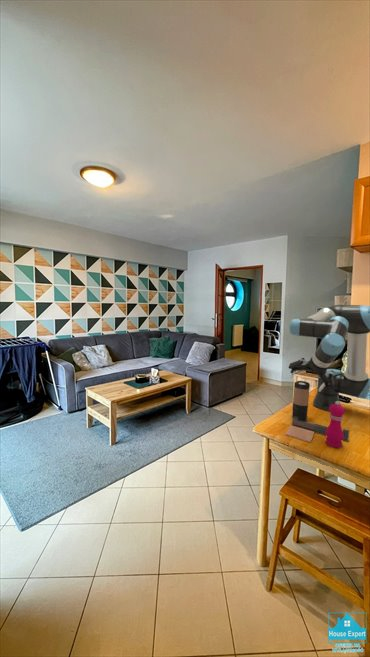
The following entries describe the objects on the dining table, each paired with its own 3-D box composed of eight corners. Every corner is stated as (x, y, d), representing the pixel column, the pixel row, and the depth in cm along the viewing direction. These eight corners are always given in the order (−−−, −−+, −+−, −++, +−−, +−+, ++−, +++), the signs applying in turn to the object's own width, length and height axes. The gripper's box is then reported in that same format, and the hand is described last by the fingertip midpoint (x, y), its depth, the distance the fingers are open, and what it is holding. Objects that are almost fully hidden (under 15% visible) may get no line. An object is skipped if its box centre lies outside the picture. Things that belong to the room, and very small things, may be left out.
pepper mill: (326, 438, 120) (330, 396, 118) (344, 443, 116) (348, 401, 114) (322, 444, 115) (326, 401, 113) (341, 450, 110) (346, 405, 108)
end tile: (314, 433, 124) (314, 431, 124) (310, 442, 116) (310, 441, 115) (290, 426, 131) (290, 425, 131) (285, 434, 122) (285, 433, 122)
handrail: (348, 439, 119) (349, 430, 119) (347, 441, 117) (348, 432, 117) (292, 424, 133) (293, 415, 133) (291, 425, 131) (292, 417, 131)
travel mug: (308, 422, 136) (311, 385, 134) (293, 420, 137) (296, 384, 135) (304, 416, 143) (307, 381, 141) (290, 414, 145) (293, 380, 143)
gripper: (288, 354, 111) (278, 376, 128) (350, 381, 102) (330, 401, 119) (294, 342, 115) (283, 365, 132) (354, 367, 105) (334, 388, 122)
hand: (305, 382), depth 125 cm, fingers open, 13 cm apart
